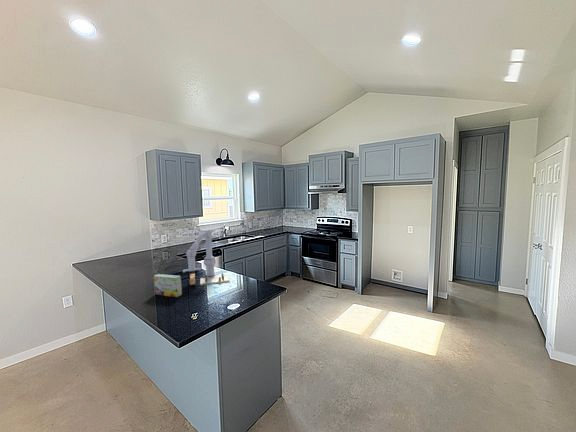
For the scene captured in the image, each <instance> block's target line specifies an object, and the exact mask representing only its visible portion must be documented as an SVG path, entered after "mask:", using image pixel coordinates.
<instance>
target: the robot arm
mask: <svg viewBox="0 0 576 432" xmlns="http://www.w3.org/2000/svg"><path fill="white" fill-rule="evenodd" d="M212 232H213V231H212V230H211V229H200V230H199V231H198V236H197V238H196V239H195V240H196V241H194V242H193V243H192V245H191V246H190V247H189V249H188V250H187V251H186V252H185V255H186V259H187V265H188V267H187V269H186V268H185V269H182V273H186V275H187V276H188V280H189V281H190V274H191V272H194V274H195V279H196V280H197V276H198V273H199V271H202V267H196V256H197V251H198V249H199V248H200V243H201V242H202V240H203V239H205V253H206V255H205V257H203V264H204V266H205V270H206V271H205V272H206V273H205V276H207V277H215V276H216V274H215V265H216V262H217V261H216V257H215V256H213V243H212V242H213V239H212V238H213V233H212Z"/></svg>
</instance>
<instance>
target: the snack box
mask: <svg viewBox="0 0 576 432" xmlns="http://www.w3.org/2000/svg"><path fill="white" fill-rule="evenodd" d="M153 282H154V283H153V285H154V294H155V295H156V296H163V297H164V296H165V297H174V298H178V297H180V296H182V295H183V289H182V276H181V275H175V274H163V273H161V274H160V273H157V274H155V275H153Z"/></svg>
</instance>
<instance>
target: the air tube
mask: <svg viewBox="0 0 576 432" xmlns="http://www.w3.org/2000/svg"><path fill="white" fill-rule="evenodd" d="M196 280H197V278H196V279H195V273H190V280H189V286H190V285H191V286H192V285H196Z"/></svg>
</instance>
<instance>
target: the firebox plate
mask: <svg viewBox="0 0 576 432" xmlns="http://www.w3.org/2000/svg"><path fill="white" fill-rule="evenodd" d="M223 283H224V284H225V283H230V278H229V275H228V274H225V275H224V273H221V275H215V276H206V275H205V276H204V277H200V281H199V285H200V286H208V285H215V284H216V285H217V284H223Z"/></svg>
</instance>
